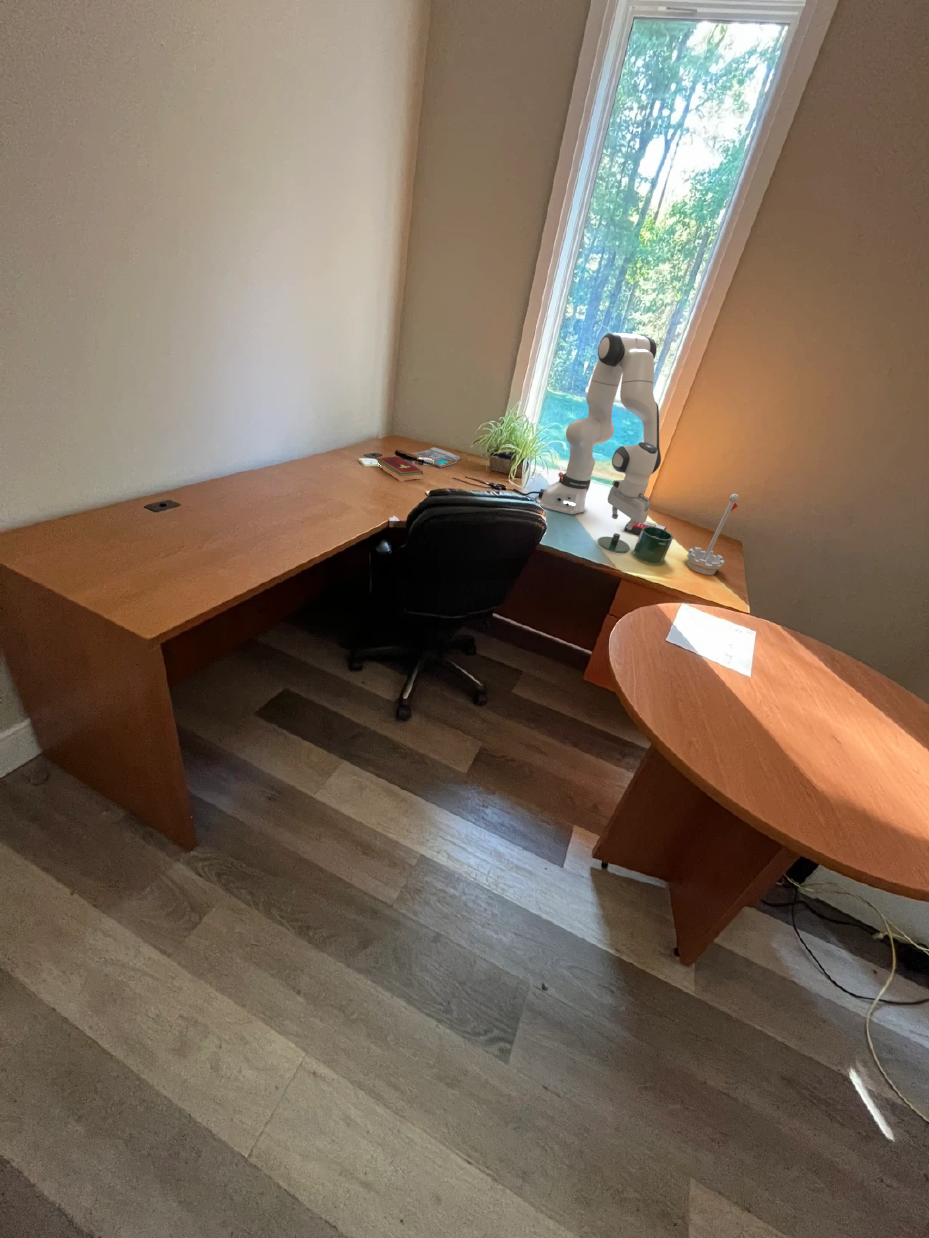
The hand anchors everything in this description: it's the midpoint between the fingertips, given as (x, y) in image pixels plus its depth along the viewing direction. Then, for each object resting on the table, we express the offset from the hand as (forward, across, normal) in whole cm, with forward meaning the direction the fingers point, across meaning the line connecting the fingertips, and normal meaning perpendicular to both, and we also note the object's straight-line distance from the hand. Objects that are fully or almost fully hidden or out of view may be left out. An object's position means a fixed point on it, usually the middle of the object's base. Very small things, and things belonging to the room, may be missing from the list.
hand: (621, 523), depth 189 cm
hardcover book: (+10, +80, +66) cm, 104 cm away
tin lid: (+9, 0, 0) cm, 9 cm away
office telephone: (+10, +100, +41) cm, 109 cm away
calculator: (+10, +10, -23) cm, 27 cm away
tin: (+10, -10, -10) cm, 17 cm away
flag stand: (+10, -20, -28) cm, 36 cm away
